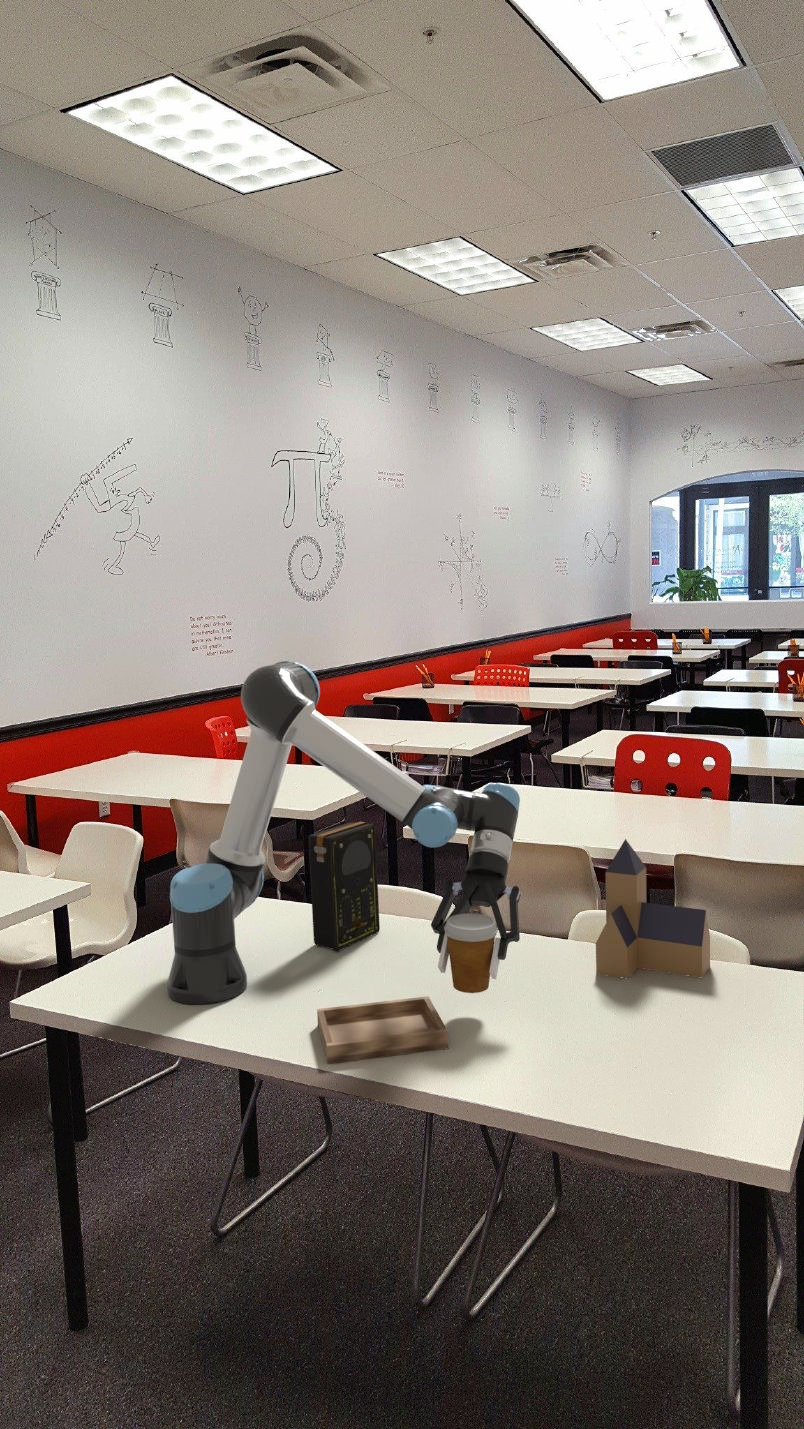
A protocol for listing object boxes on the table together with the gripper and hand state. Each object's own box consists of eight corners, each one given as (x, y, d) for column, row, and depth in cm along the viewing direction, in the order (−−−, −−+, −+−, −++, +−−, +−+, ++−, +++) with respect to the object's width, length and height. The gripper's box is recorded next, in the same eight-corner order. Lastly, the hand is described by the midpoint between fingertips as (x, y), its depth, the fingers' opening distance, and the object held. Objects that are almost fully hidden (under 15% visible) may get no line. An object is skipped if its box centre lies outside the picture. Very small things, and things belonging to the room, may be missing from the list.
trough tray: (327, 1063, 161) (326, 1046, 161) (317, 1025, 176) (317, 1009, 176) (448, 1048, 165) (447, 1031, 165) (429, 1012, 180) (428, 996, 179)
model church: (617, 953, 205) (615, 833, 202) (710, 967, 196) (709, 842, 193) (596, 974, 195) (594, 848, 192) (693, 990, 185) (693, 858, 182)
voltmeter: (338, 954, 211) (333, 838, 208) (308, 946, 216) (302, 833, 213) (384, 932, 223) (379, 822, 220) (354, 926, 228) (349, 818, 225)
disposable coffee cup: (508, 985, 179) (509, 920, 177) (474, 1001, 172) (475, 934, 170) (467, 971, 185) (467, 909, 184) (433, 987, 178) (432, 922, 177)
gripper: (430, 845, 188) (403, 956, 175) (542, 853, 182) (523, 970, 169) (438, 865, 194) (413, 974, 181) (548, 874, 187) (530, 988, 174)
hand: (466, 972), depth 175 cm, fingers closed on disposable coffee cup, 9 cm apart
